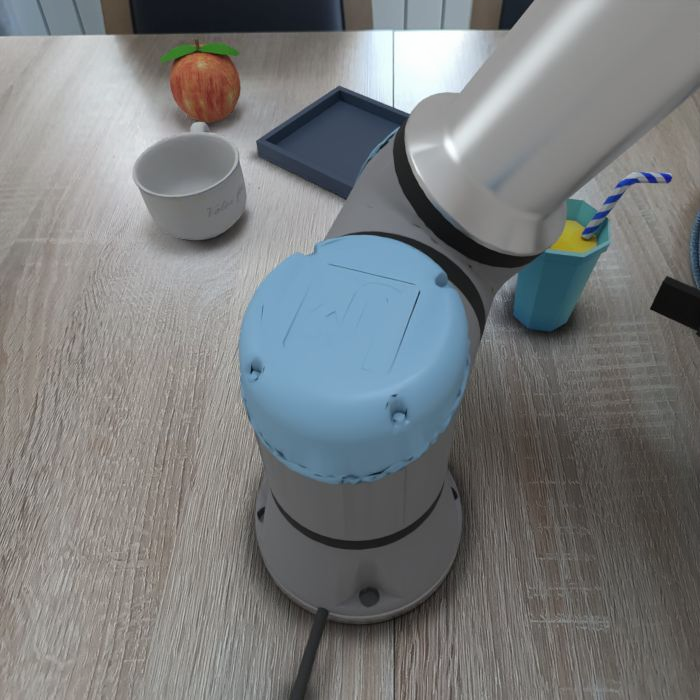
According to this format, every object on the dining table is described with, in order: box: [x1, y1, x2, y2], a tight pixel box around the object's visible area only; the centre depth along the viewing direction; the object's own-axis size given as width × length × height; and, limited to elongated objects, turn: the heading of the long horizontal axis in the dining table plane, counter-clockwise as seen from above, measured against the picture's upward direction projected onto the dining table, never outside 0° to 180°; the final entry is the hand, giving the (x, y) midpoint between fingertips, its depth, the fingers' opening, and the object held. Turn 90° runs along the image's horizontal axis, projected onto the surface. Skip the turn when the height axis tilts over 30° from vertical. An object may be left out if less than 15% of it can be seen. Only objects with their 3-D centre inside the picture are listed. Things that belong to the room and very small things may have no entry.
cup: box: [512, 171, 673, 333], centre depth 57 cm, size 14×8×15 cm, turn 100°
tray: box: [255, 85, 410, 200], centre depth 79 cm, size 16×18×2 cm
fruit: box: [159, 37, 242, 124], centre depth 81 cm, size 9×10×10 cm
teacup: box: [131, 121, 247, 241], centre depth 70 cm, size 14×11×8 cm
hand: (694, 239), depth 48 cm, fingers open, 13 cm apart
